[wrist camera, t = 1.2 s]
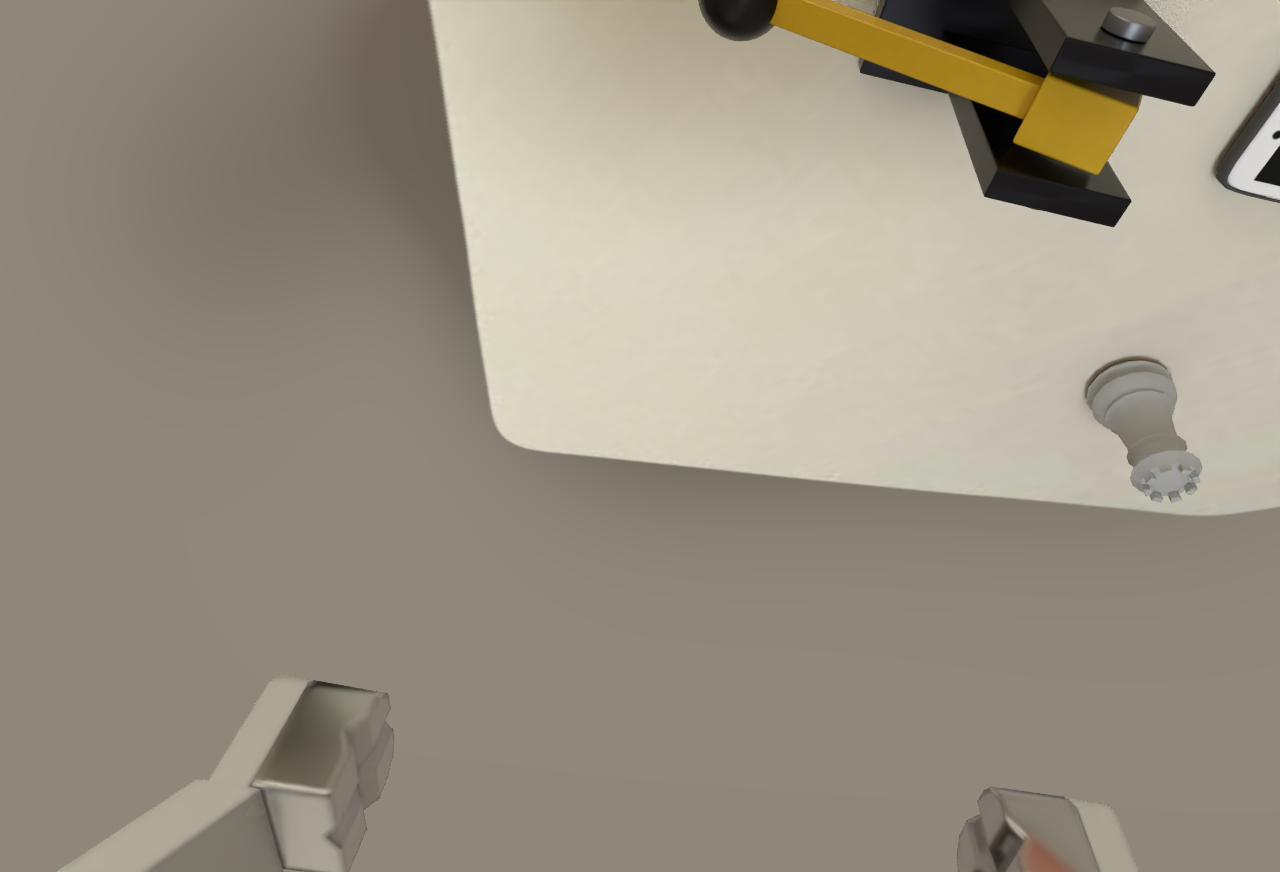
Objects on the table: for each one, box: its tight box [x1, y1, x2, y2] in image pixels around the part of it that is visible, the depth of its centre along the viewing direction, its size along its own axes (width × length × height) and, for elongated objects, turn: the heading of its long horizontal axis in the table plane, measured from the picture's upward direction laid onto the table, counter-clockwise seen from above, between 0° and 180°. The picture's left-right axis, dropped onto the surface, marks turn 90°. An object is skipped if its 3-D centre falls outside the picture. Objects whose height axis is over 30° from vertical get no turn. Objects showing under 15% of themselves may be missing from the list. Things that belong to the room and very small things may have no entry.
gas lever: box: [698, 0, 1142, 175], centre depth 27 cm, size 15×3×3 cm, turn 80°
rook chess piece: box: [1086, 360, 1202, 503], centre depth 45 cm, size 4×4×8 cm
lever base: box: [859, 0, 1216, 227], centre depth 30 cm, size 10×8×14 cm
